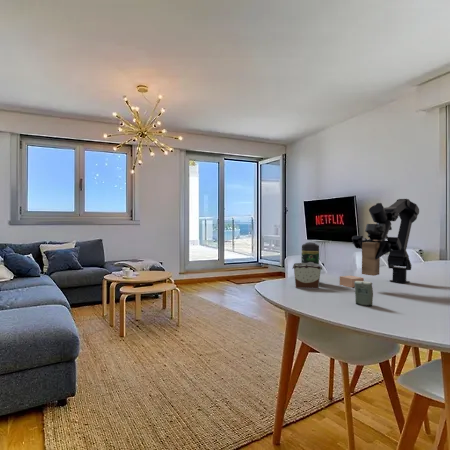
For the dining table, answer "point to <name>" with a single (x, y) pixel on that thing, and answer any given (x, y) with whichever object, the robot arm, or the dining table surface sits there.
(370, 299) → the grey-green rounded block
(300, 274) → the food container
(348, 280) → the terracotta block
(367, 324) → the dining table surface
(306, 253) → the coffee jar
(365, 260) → the walnut block
